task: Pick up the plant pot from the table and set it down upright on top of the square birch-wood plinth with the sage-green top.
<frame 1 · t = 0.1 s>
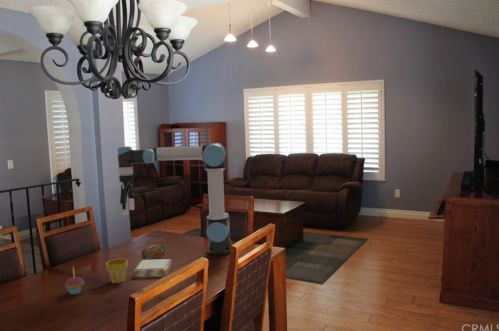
hand: (128, 212, 241), 28 cm above the table, tool pointing down, fingers open, 13 cm apart
plinth: (153, 271, 227), on the table
tin: (153, 260, 245), on the table
plant pot: (118, 281, 215), on the table
cupcake: (75, 292, 202), on the table
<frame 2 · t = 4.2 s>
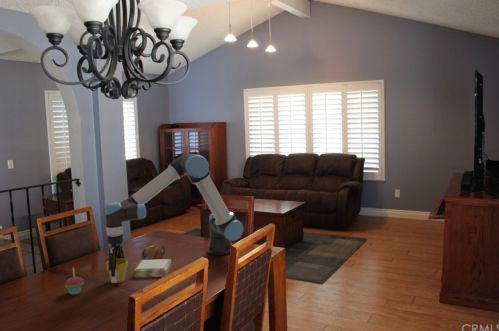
hand: (117, 278, 215), 1 cm above the table, tool pointing down, fingers closed on plant pot, 10 cm apart
plant pot: (118, 281, 215), on the table, touching gripper
everything else where it was.
when the fingers open (7 cm above the table, at t = 10.8 s): plant pot drops 1 cm, resting on plinth.
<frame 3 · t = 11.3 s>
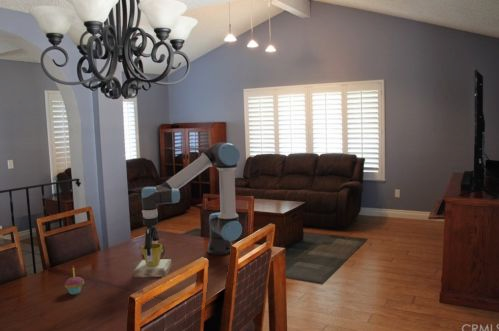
hand: (152, 257, 226), 8 cm above the table, tool pointing down, fingers open, 13 cm apart
plant pot: (152, 264, 226), point 4 cm above the table, touching plinth
everything else where it was.
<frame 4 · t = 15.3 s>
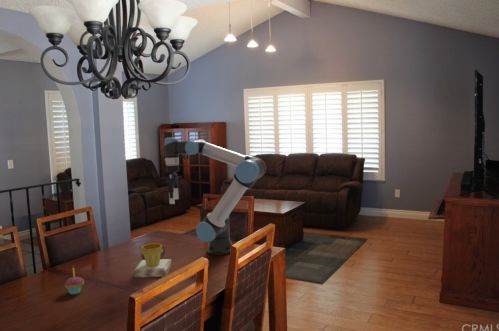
hand: (174, 201, 249), 32 cm above the table, tool pointing down, fingers open, 13 cm apart
nothing on the table moved.
at the end: plant pot inside the target area on the plinth (0.7 cm from its centre), point 3.8 cm above the plinth's base; plant pot tilted 0°; the gripper is holding nothing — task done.
